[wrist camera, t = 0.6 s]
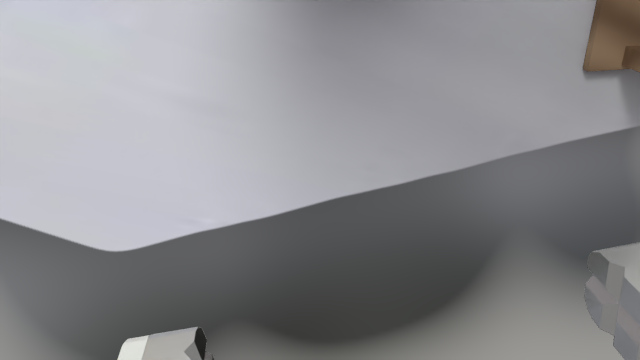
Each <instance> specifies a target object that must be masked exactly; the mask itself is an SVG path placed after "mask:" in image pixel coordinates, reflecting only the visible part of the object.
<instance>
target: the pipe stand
mask: <svg viewBox="0 0 640 360" xmlns="http://www.w3.org/2000/svg"><path fill="white" fill-rule="evenodd" d="M583 69H584V70H586V71H603V70H620V69H633V70H635V71H638V72H640V0H597V2H596V7H595V12H594V17H593V22H592V26H591V31H590V36H589V41H588V46H587V51H586V55H585V60H584V65H583Z"/></svg>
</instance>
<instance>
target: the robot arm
mask: <svg viewBox="0 0 640 360" xmlns="http://www.w3.org/2000/svg"><path fill="white" fill-rule="evenodd" d="M587 268H588V269H589V270H590V271H591V272H592V273H593V275H592V277H591V278H590V279H589V280H588V281H587V283H586V284H585V295H584V297H585V301H586V305H587V309H588V311H589V313H590V315H591V317H592V319H593V320H594V322H595V323H596V324H597V326H598V327H599V328H600V329H601V330H603V331H606V332H608V333H610V334H612V335H614V342H613V346H614V347H615V348H616V349H617V351H618V352H619V353H620V354H621V355H622V357H623V358H624V359H625V360H640V243H633V244H628V245H623V246H618V247H613V248H608V249H603V250H598V251H593V252H591V254H590V256H589V258H588V265H587ZM206 343H207V339H206V337H205V334H204V332H203V330H202V328H200V327H194V328H188V329H183V330H176V331H170V332H164V333H158V334H152V335H150V336H143V337H137V338H131V339H127V340H126V341H125V343H124V344H123V345H122V348H121V351H120V354H119V357H118V360H214V358H213V356H212V355H211V354H210V353H208V352H206V351H205V350H206Z"/></svg>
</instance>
